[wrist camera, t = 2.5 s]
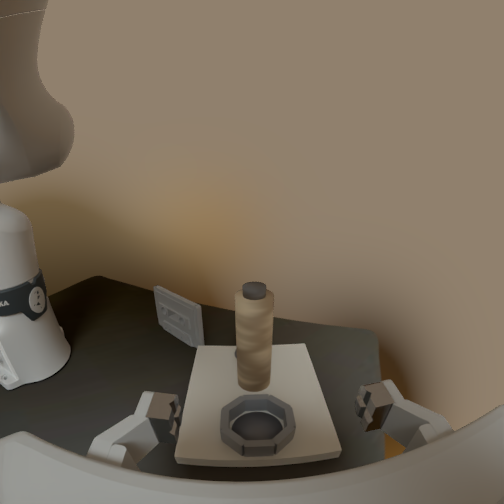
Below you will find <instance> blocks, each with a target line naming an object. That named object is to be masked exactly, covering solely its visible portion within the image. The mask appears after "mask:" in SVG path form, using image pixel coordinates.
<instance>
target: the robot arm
mask: <svg viewBox="0 0 504 504" xmlns="http://www.w3.org/2000/svg"><path fill="white" fill-rule="evenodd" d="M47 3H48V0H0V17H3V18H0V183H4V182H9V181H14V180H19V179H24V178H29V177H35V176H37V175H40V174H43V173H45V172H48V171H50V170H53V169H55V168H58V167H60V166H61V165H62V164H63V163H64V161H65V160H66V158H67V157H68V155H69V153H70V150H71V148H72V144H73V140H74V124H73V120H72V117H71V115H70V113H69V112H68V110H67V109H66V108H65V107H64V106H63V105H62V104H60V103H59V102H57V101H56V100H55V99H54V98H53V97H52V96H51V95H50V94H49V93H48V92H47V90H46V89H45V87H44V85H43V84H42V81H41V79H40V76H39V72H38V67H37V51H38V41H39V35H40V30H41V25H42V21H43V17H44V13H45V11H36V10H43V9H46V6H47ZM30 11H36V12H30ZM24 12H29V13H24ZM18 13H23V14H18ZM13 14H17V15H13ZM9 15H12V16H9ZM5 16H8V17H5ZM44 281H45V280H44V277H43V274H42V270H41V269H39V266H38V261H37V256H36V250H35V244H34V237H33V229H32V225H31V222H30V220H29V219H28V217H27V216H26V215H25V214H24V213H23V212H21V211H19V210H17V209H15V208H12V207H10V206H7V205H4V204H2V203H1V202H0V384H1V385H2V386H4V387H5V388H6V389H8V390H11V389H14V388H16V387H19V386H21V385H23V384H26V383H32V382H37V381H40V380H43V379H45V378H48V377H49V376H51V375H53V374H54V373H56V372H57V371H58V370H60V369H61V368H62V367H63V366H64V365H65V363H66V362H67V360H68V359H69V356H70V352H71V348H70V345H69V343H68V342H67V340H66V338H65V337H64V331H63V329H62V327H60V326H59V324H58V322H57V319H56V317H55V314H54V312H53V309H52V307H51V304H50V302H49V299H48V297H47V296H46V286H45V282H44ZM359 393H360V395H359V396H358V397H357V398H356V401H355V410H356V414H357V416H358V417H360V418H362V420H361V422H360V423H361V425H362V427H363V430H364V432H369V431H374V430H378V429H381V430H382V431H383V432H385V433H386V434H388V435H389V436H390V437H392V438H393V439H395V440H396V441H397V442H399V443H400V444H402V445H403V446H405V447H406V449H405V450H404V452H403V453H402V454H400V455H398V456H395V457H392V458H388V459H385V460H382V461H379V462H375V463H372V464H368V465H364V466H360V467H356V468H352V469H348V470H343V471H339V472H334V473H329V474H323V475H317V476H310V477H303V478H295V479H285V480H273V481H253V482H225V481H205V480H193V479H183V478H175V477H168V476H161V475H155V474H150V473H145V472H141V471H140V469H139V468H138V466H137V465H136V464H137V463H138V462H139V461H140V460H141V459H142V458H143V457H145V456H146V455H147V454H148V453H149V452H150V451H151V450H152V449H153V448H154V447H155V446H156V445H157V444H158V443H159V442H163V443H173V444H177V442H178V438H179V430H178V428H179V427H180V426H181V423H182V410H181V407H180V406H179V405H178V403H179V398H178V395H175V394H166V393H158V392H150V391H144V392H143V394H142V396H141V399H140V401H139V403H138V406H137V408H136V411H135V413H134V415H130V416H128V417H127V418H125V419H124V420H122V421H121V422H119V423H118V424H116V425H114V426H113V427H111V428H110V429H108V430H106V431H105V432H103V433H102V434H100V435H98V436H97V437H95V438H94V440H93V442H92V445H91V447H90V449H89V451H88V453H87V455H86V457H85V456H82V455H79V454H76V453H74V452H71V451H68V450H66V449H63V448H61V447H59V446H56V445H54V444H51V443H49V442H47V441H45V440H43V439H40V438H38V437H36V436H34V435H32V434H30V433H28V432H25V431H21V432H17V433H14V434H12V435H9V436H6V437H4V438H1V439H0V504H504V405H500V406H498V407H496V408H495V409H493V410H492V411H490V412H488V413H487V414H485V415H483V416H482V417H480V418H478V419H477V420H475V421H473V422H471V423H470V424H468V425H466V426H464V427H462V428H460V429H458V430H457V431H453V429H452V428H451V426H450V425H449V423H448V422H447V421H446V419H445V418H444V416H442V415H440V414H437V413H435V412H433V411H431V410H428V409H426V408H424V407H422V406H420V405H417V404H415V403H413V402H411V401H409V400H404V398H403V397H402V395H401V394H400V392H399V391H398V389H397V388H396V386H395V385H394V383H393V382H392V380H390V379H389V380H385V381H381V382H376V383H371V384H366V385H362V386H361V387H360V389H359Z"/></svg>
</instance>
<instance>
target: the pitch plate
mask: <svg viewBox="0 0 504 504" xmlns="http://www.w3.org/2000/svg"><path fill="white" fill-rule="evenodd" d="M341 451H342V449H341V446H340V443H339V440H338V437H337V434H336V431H335V428H334V425H333V422H332V419H331V416H330V413H329V411H328V408H327V405H326V402H325V399H324V396H323V393H322V390H321V388H320V385H319V382H318V379H317V376H316V373H315V371H314V368H313V365H312V362H311V359H310V357H309V354H308V351H307V348H306V345H305V343H303V344H286V345H272V355H271V375H270V384H269V386H268V387H267V388H266V389H264V390H262V391H259V392H249V391H246V390H244V389H242V388H241V387H240V386H239V384H238V374H237V348H236V346H199V345H198V348H197V352H196V356H195V361H194V365H193V370H192V374H191V378H190V383H189V387H188V392H187V397H186V401H185V406H184V411H183V415H182V423H181V426H180V430H179V438H178V442H177V445H176V450H175V455H174V457H175V459H176V462H177V463H178V464H188V465H199V466H217V467H259V466H277V465H288V464H298V463H306V462H313V461H320V460H326V459H331V458H337V457H339V455H340V453H341Z"/></svg>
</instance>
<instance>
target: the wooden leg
mask: <svg viewBox="0 0 504 504" xmlns="http://www.w3.org/2000/svg"><path fill="white" fill-rule="evenodd" d="M273 307H274V294H273V293H272V292H271V291H269V290H267V289H266V285H265V284H264V283H261V282H248V283H245V284H244V285H243V289H242V290H239V291H237V292H236V293H235V318H236V348H237V374H238V384H239V386H240V387H241V388H242V389H244V390H246V391H249V392H259V391H262V390H264V389H266V388H267V387H268V386H269V384H270V375H271V355H272V333H273Z"/></svg>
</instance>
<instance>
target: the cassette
mask: <svg viewBox="0 0 504 504" xmlns="http://www.w3.org/2000/svg"><path fill="white" fill-rule="evenodd" d="M154 295H155V302H156V309H157V315H158V321H159V324H160V325H161V326H163V329H165V330H166V331H168V332H169V333H171V334H172V335H174V336H175V337H177V338H178V339H180V340H181V341H183V342H185V343H186V344H188V345H189V346H191V347H193V346H194V347H196V348H198V345H199V346H205V344H204V335H203V324H202V313H201V306H200V305H199V304H196V303H194V302H192V301H190V300H188V299H186V298H183V297H181V296H179V295H177V294H175V293H173V292H171V291H169V290H167V289H165V288H163V287H161V286H159V285H157V286H154Z"/></svg>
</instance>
